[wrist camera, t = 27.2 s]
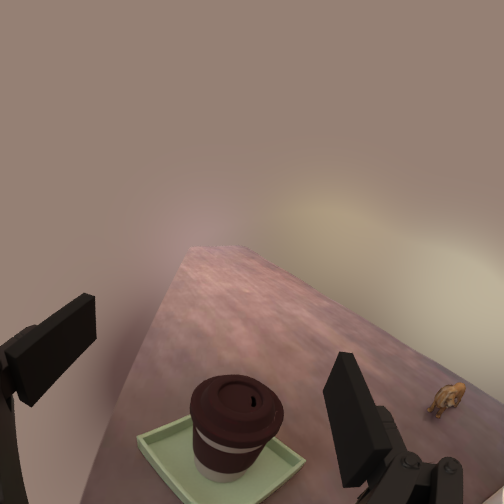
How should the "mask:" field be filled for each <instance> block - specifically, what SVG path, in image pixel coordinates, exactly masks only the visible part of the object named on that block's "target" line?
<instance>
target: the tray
mask: <svg viewBox="0 0 504 504" xmlns="http://www.w3.org/2000/svg"><path fill="white" fill-rule="evenodd" d="M137 444H138V448H139V450H140V451H141V452H142V454H143V455H144V456H145V458H146V459H147V460H148V462H149V463H150V464H151V466H152V467H153V468H154V469H155V471H156V472H157V473H158V474H159V476H160V477H161V478H162V479H163V480H164V482H165V483H166V484H167V485H168V486H169V488H170V489H171V490H172V491H173V492H174V493H175V494H176V495H177V497H178V498H179V499H180V500H181V501H182V502H183V503H184V504H259V503H261V502H262V501H263V500H265V499H266V498H267V497H268V496H270V495H271V494H272V493H273V492H275V491H276V490H277V489H278V488H280V487H281V486H282V485H283V484H284V483H286V482H287V481H288V480H289V479H290V478H291V477H293V476H294V475H295V474H296V473H297V472H298V471H299V470H300V469H301V468H302V466H303V465H304V463H305V462H306V460H305V459H304V458H302V457H301V456H299V455H298V454H297V453H295V452H294V451H293V450H291V449H290V448H289V447H287V446H286V445H285V444H283V443H282V442H281V441H279V440H278V439H277V438H276V437H273V438H272V439H271V440H270V441H268V442H267V444H266V445H265V447H264V448H263V450H262V452H261V453H260V455H259V456H258V458H257V459H256V461H255V462H254V463H253V465H252V466H250V467H249V468H248V470H247V471H246V473H245V474H244V475H243V476H242V477H241V478H239V479H238V480H236V481H233V482H228V483H219V482H214V481H211V480H209V479H207V478H205V477H204V476H203V475H202V474H201V473H200V472H199V471H198V470H197V468H196V466H195V463H194V451H193V421H192V419H191V415H188V416H185V417H183V418H181V419H179V420H176V421H174V422H172V423H169V424H167V425H164V426H162V427H159V428H157V429H154V430H152V431H149V432H147V433H144V434H141V435H139V436H137Z"/></svg>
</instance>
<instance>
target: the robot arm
mask: <svg viewBox="0 0 504 504" xmlns="http://www.w3.org/2000/svg"><path fill="white" fill-rule="evenodd" d="M96 339H97V337H96V315H95V296H92V295H89V294H86V293H83V294H81V295H80V296H78V297H77V298H76V299H74V300H73V301H71V302H70V303H68V304H67V305H65V306H64V307H63V308H61V309H60V310H58V311H57V312H56V313H54V314H53V315H51V316H50V317H48V318H47V319H46V320H44V321H43V322H42V323H40V324H39V325H32V326H29V327H26V328H25V329H23V330H22V331H20V332H19V333H18V334H16V335H15V336H14V337H12V338H11V339H9V340H8V341H7V342H5V343H4V344H3V345H1V346H0V504H29V503H28V499H27V495H26V491H25V487H24V482H23V477H22V472H21V466H20V460H19V453H18V447H17V438H16V429H15V428H16V427H15V413H14V399H13V395H12V394H13V393H14V392H15V391H17V394H18V397H19V399H20V401H22V402H24V403H25V404H27V405H28V406H30V407H33V405H34V404H35V403H36V402H37V401H38V400H39V399H40V397H42V396H43V394H44V393H45V392H46V391H47V390H48V389H49V388H50V387H51V386H52V385H53V384H54V383H55V381H56V380H57V379H58V378H59V377H60V376H61V375H62V374H63V373H64V372H65V371H66V370H67V369H68V368H69V367H70V366H71V364H73V362H74V361H75V360H76V359H77V358H78V357H79V356H80V355H81V354H82V353H83V352H84V351H85V350H86V349H87V348H88V347H89V346H90V345H91V344H92V343H93V342H94V341H95V340H96ZM323 395H324V399H325V404H326V408H327V413H328V417H329V422H330V426H331V431H332V435H333V440H334V445H335V450H336V454H337V459H338V464H339V469H340V474H341V479H342V485H343V488H351V487H360V486H361V485H362V484H363V483H364V482H365V481H366V480H367V483H368V486H369V487H368V488H367V489H366V490H365V491H364V492H363V493H362V494H361V495H360V496H359V497H358V498H357V499H358V501H357V502H356V503H355V504H463V469H462V465H461V464H460V462H459V461H458V460H456V459H455V458H452V457H444V458H442V459H441V460H440V461H439V462H438V463H437V464H431V463H423V462H422V460H421V459H420V457H419V456H418V455H416V454H415V453H413V452H410V451H407V449H406V447H405V444H404V442H403V440H402V437H401V435H400V433H399V431H398V429H397V426H396V424H395V423H394V419H393V417H392V415H391V413H390V412H389V411H388V410H387V409H386V408H385V407H384V406H376V405H375V403H374V401H373V398H372V396H371V394H370V391H369V389H368V387H367V384H366V382H365V380H364V377H363V375H362V373H361V371H360V368H359V366H358V364H357V362H356V359H355V357H354V355H353V353H347V352H339V354H338V356H337V359H336V361H335V364H334V366H333V368H332V371H331V373H330V376H329V378H328V380H327V383H326V385H325V387H324V389H323Z"/></svg>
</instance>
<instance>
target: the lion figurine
mask: <svg viewBox="0 0 504 504" xmlns="http://www.w3.org/2000/svg"><path fill="white" fill-rule="evenodd" d="M465 390H466V387H465V384H464V383H456V384H455V385H454V386H453V385H446V386H444V387H443V388H441V389H440V390H439V391H438V392H437V394H436V396H435V400H434V402H433V404H432V406H431V407H430V408H428V409H427V410H428V412H432V411H433V409H434V407H435V406H437V407H438V408H440V410H439V411H438V412H437V414H436V418H440V416H441V414H442V412H443V411H444V410H445V409H446V408H449V407H450V406H454V407H457V405H458V404H459V402H460V401H461V398H462V396H463V395H464V392H465ZM455 398H457V402H456V403H455V402H454V399H455Z"/></svg>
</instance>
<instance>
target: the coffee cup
mask: <svg viewBox="0 0 504 504" xmlns="http://www.w3.org/2000/svg"><path fill="white" fill-rule="evenodd" d="M190 415H191V419H192V421H193V451H194V463H195V466H196V468H197V470H198V471H199V472H200V473H201V474H202V475H203V476H204V477H205V478H207V479H209V480H211V481H214V482H219V483H228V482H233V481H236V480H238V479H239V478H241V477H242V476H243V475H244V474H245V473H246V471H247V470H248V468H249V467H250V466H252V465H253V463H254V462H255V461H256V459H257V458H258V456H259V455H260V453H261V452H262V450H263V448H264V447H265V445H266V444H267V442H268V441H270V440H271V439H272V438H273V437H274V436H275V435H276V434H277V432H278V430H279V428H280V426H281V424H282V422H283V418H284V410H283V406H282V404H281V401H280V400H279V398H278V397H277V395H276V394H275V393H274V392H273V391H272V390H270V389H269V388H268V387H267V386H265V385H264V384H262V383H261V382H259V381H257V380H255V379H253V378H250V377H248V376H244V375H222V376H216V377H212V378H209V379H207V380H205V381H203V382H202V383H201V384H200V385H198V386H197V387H196V389H195V390H194V392H193V394H192V397H191V403H190Z"/></svg>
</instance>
